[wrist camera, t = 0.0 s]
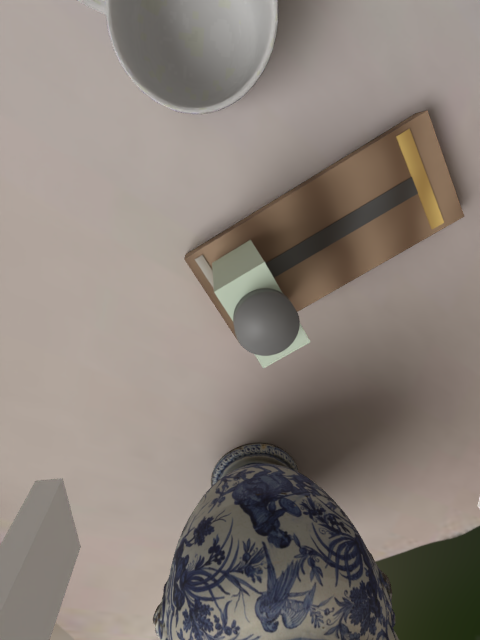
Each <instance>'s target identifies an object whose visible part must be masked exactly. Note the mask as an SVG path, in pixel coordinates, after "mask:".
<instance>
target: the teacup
mask: <svg viewBox="0 0 480 640" xmlns="http://www.w3.org/2000/svg"><path fill="white" fill-rule="evenodd" d="M77 1H79V2H81V3H82V4H84V5H86V6H88V7H90V8H91V9H94V10H96V11H98V12H100V13H102V14H104V15H106V20H107V27H108V32H109V36H110V39H111V42H112V45H113V49H114V51H115V53H116V56H117V58H118V60H119V62H120V64H121V66H122V67H123V69H124V70H125V72H126V73H127V75H128V76H129V77H130V79H131V80H132V81H133V82H134V83H135V85H136V86H137V87H138V88H139V89H140V90H141V91H142V92H143V93H144V94H146V95H147V96H149V97H150V98H151V99H152V100H154V101H156V102H157V103H159V104H161V105H163V106H165V107H167V108H169V109H172V110H174V111H178V112H181V113H187V114H208V113H213V112H216V111H219V110H221V109H223V108H225V107H227V106H229V105H231V104H233V103H234V102H236V101H238V100H239V99H240V98H241V97H243V96H244V95H245V94H246V93H247V92H248V91H249V90H250V89H251V88H252V87H253V86H254V84H255V83H256V81H257V80H258V79H259V77H260V76H261V74H262V73H263V71H264V69H265V67H266V65H267V63H268V61H269V58H270V56H271V53H272V50H273V47H274V43H275V38H276V33H277V26H278V0H77Z"/></svg>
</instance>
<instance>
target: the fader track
mask: <svg viewBox="0 0 480 640" xmlns="http://www.w3.org/2000/svg"><path fill="white" fill-rule="evenodd" d="M462 217H464V214H463V211H462V208H461V205H460V203H459V200H458V197H457V194H456V191H455V188H454V185H453V182H452V179H451V177H450V174H449V171H448V168H447V165H446V162H445V159H444V156H443V154H442V151H441V148H440V145H439V142H438V139H437V136H436V133H435V130H434V128H433V125H432V122H431V119H430V116H429V113H428V110H427V111H423V112H420V113H416V114H414V115H412V116H411V117H409V118H408V119H406V120H404V121H403V122H401V123H399V124H398V125H396V126H394V127H393V128H391V129H390V130H388V131H386V132H385V133H383V134H381V135H380V136H378V137H377V138H375V139H373V140H372V141H370V142H368V143H367V144H365V145H363V146H362V147H360V148H359V149H357V150H355V151H354V152H352V153H350V154H349V155H347V156H346V157H344V158H342V159H341V160H339V161H337V162H336V163H334V164H333V165H331V166H329V167H328V168H326V169H324V170H323V171H321V172H319V173H318V174H316V175H315V176H313V177H311V178H310V179H308V180H306V181H305V182H303V183H302V184H300V185H298V186H297V187H295V188H293V189H292V190H290V191H288V192H287V193H285V194H284V195H282V196H280V197H279V198H277V199H275V200H274V201H272V202H271V203H269V204H267V205H266V206H264V207H262V208H261V209H259V210H257V211H256V212H254V213H253V214H251V215H249V216H248V217H246V218H244V219H243V220H241V221H240V222H238V223H236V224H235V225H233V226H231V227H230V228H228V229H227V230H225V231H223V232H222V233H220V234H218V235H217V236H215V237H213V238H212V239H210V240H209V241H207V242H205V243H204V244H202V245H200V246H199V247H197V248H196V249H194V250H192V251H191V252H189V253H187V254H186V255H185V261H186V262H187V264H188V265H189V267H190V268H191V270H192V272H193V273H194V275H195V276H196V278H197V279H198V281H199V282H200V284H201V285H202V287H203V288H204V290H205V291H206V293H207V294H208V296H209V297H210V299H211V301H212V302H213V304H214V305H215V307H216V308H217V310H218V311H219V313H220V314H221V316H222V317H223V319H224V320H225V322H226V323H227V325H228V326H229V328H230V329H231V331H232V333H233V334H234V336H235V337H236V334H235V329H234V324H233V321H232V319H231V318H230V316H229V314H228V313H227V311H226V310H225V308H224V307H223V305H222V304H221V302H220V301H219V299H218V297H217V296H216V294H215V293H214V285H213V269H212V263H213V262H214V261H216V260H218V259H219V258H221V257H223V256H224V255H226V254H228V253H229V252H231V251H233V250H234V249H236V248H238V247H239V246H241V245H243V244H244V243H246V242H248V241H249V240H251V241H252V243H253V244H254V246H255V248H256V249H257V251H258V252H259V254H260V255H261V257H262V259H263V260H264V262H265V263H266V265H267V267H268V269H269V270H270V272H271V274H272V276H273V277H274V279H275V281H276V283H277V284H278V286H279V288H280V290H281V291H282V293H283V294H284V295H285V296H287V298H288V299H289V300H290V301H291V303H292V304H293V306H294V308H295V309H296V311H297V312H298V311H299V310H301V309H303V308H305V307H306V306H308V305H310V304H312V303H313V302H315V301H317V300H319V299H320V298H322V297H324V296H326V295H327V294H329V293H331V292H333V291H334V290H336V289H338V288H340V287H341V286H343V285H345V284H347V283H348V282H350V281H352V280H354V279H355V278H357V277H359V276H361V275H362V274H364V273H366V272H368V271H369V270H371V269H373V268H375V267H377V266H378V265H380V264H382V263H384V262H385V261H387V260H389V259H391V258H392V257H394V256H396V255H398V254H399V253H401V252H403V251H405V250H406V249H408V248H410V247H412V246H413V245H415V244H417V243H419V242H420V241H422V240H424V239H426V238H427V237H429V236H431V235H433V234H434V233H436V232H438V231H440V230H441V229H443V228H445V227H447V226H448V225H450V224H452V223H454V222H455V221H457V220H459V219H461V218H462ZM236 339H237V337H236ZM237 340H238V339H237ZM238 342H239V341H238Z"/></svg>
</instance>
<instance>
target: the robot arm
mask: <svg viewBox="0 0 480 640" xmlns="http://www.w3.org/2000/svg"><path fill="white" fill-rule="evenodd" d="M478 508H479V509H480V498H479V502H478ZM80 547H81V546H80V543H79V539H78V535H77V531H76V527H75V524H74V520H73V516H72V512H71V508H70V505H69V501H68V497H67V493H66V489H65V486H64V482H63V478H62V479H51V480H40V481H35V483H34V485H33V487H32V488H31V490H30V492H29V494H28V496H27V498H26V499H25V501H24V503H23V505H22V507H21V509H20V510H19V512H18V514H17V516H16V518H15V519H14V521H13V523H12V525H11V527H10V529H9V530H8V532H7V534H6V536H5V538H4V540H3V541H2V543H1V545H0V640H50V637H51V634H52V631H53V628H54V625H55V622H56V619H57V616H58V613H59V610H60V607H61V604H62V601H63V598H64V595H65V592H66V589H67V586H68V583H69V580H70V577H71V574H72V571H73V568H74V565H75V562H76V559H77V556H78V553H79V550H80Z"/></svg>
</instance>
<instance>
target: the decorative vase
mask: <svg viewBox="0 0 480 640" xmlns="http://www.w3.org/2000/svg"><path fill="white" fill-rule="evenodd" d="M391 599H392V590H391V584H390V581H389V579H388V577H387V576H386V575H385V574H384V573H383V572H382V571H381V570H380V569H379V568H378V566H377V564H376V562H375V561H374V559H373V557H372V555H371V553H370V552H369V551H368V549H367V547H366V545H365V544H364V542H363V540H362V538H361V536H360V535H359V533H358V531H357V530H356V528H355V527H354V525H353V524H352V522H351V521H350V519H349V518H348V517H347V515H346V514H345V513H344V512H343V510H342V509H341V508H340V507H339V506H338V505H337V504H336V502H335V501H334V500H333V499H332V498H331V497H330V496H329V495H328V494H327V493H326V492H325V491H324V490H322V489H321V488H320V487H319V486H318V485H317V484H315V483H314V482H313V481H311V480H310V479H309V478H307V477H306V476H304V475H302V474H300V473H299V472H298V470H297V466H296V464H295V462H294V460H293V459H292V457H291V456H290V455H289V454H288V453H286V452H285V451H284V450H282V449H280V448H278V447H276V446H273V445H270V444H249V445H244V446H241V447H238V448H236V449H234V450H232V451H230V452H229V453H227V454H226V455H225V456H223V457H222V458H221V459H220V461H219V462H218V463H217V465H216V466H215V468H214V470H213V473H212V478H211V488H210V489H209V490H208V491H207V492H206V494H205V495H204V496H203V497H202V499H201V500H200V502H199V503H198V505H197V506H196V508H195V509H194V511H193V513H192V514H191V516H190V518H189V519H188V521H187V523H186V525H185V527H184V529H183V531H182V534H181V536H180V539H179V541H178V544H177V547H176V550H175V554H174V558H173V562H172V566H171V570H170V575H169V579H168V581H167V582H166V584H165V586H164V594H163V598H162V602H161V603H160V605H159V606H158V607H157V609H156V611H155V614H154V617H153V623H154V624H155V631H156V634H157V636H158V637H159V639H161V640H399V639H398V637H397V635H396V633H395V632H394V630H393V627H394V625H395V614H394V612H393V609H392V603H391Z"/></svg>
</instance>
